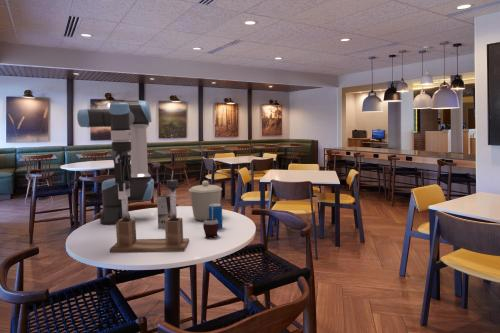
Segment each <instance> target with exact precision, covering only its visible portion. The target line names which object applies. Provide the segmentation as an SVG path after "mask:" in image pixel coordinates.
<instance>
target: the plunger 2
mask: <svg viewBox="0 0 500 333" xmlns="http://www.w3.org/2000/svg"><path fill="white" fill-rule="evenodd" d="M166 188H167V189H169V194H170V210H171V221H177V218H178V216H177V215H178V214H177V193H176V192H177V191H176V189H178V188H179V180H178V179H167V180H166Z"/></svg>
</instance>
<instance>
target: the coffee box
mask: <svg viewBox="0 0 500 333" xmlns="http://www.w3.org/2000/svg"><path fill="white" fill-rule="evenodd" d="M156 198H157V199H156V203H157V205H156V206H157V228H158V229H164V230H165V221H166V220H167V219H168V218H171V210H170V193H163V194H161V195H157V197H156Z"/></svg>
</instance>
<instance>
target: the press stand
mask: <svg viewBox="0 0 500 333" xmlns="http://www.w3.org/2000/svg"><path fill="white" fill-rule="evenodd" d="M183 222H184V221H183V217H177V221H171V218H168V219H167V220H166V221H165V229H164V230H165V231H164V232H165V238H143V239H142V238H138V239H137V226H136V225H137V224H136V218H130V219H129V222H123V219H120V220H119V221H117V222H116V224H115V229H116V233H115V234H116V243H115V244H113V245H112V246H111V247H110V248H109V253H110V254H111V253H112V254H113V253H155V252H156V253H157V252H158V253H159V252H161V253H162V252H163V253H164V252H185V250H186V249H187V246H188V244H190V243H189V242H190V238H188V237H187V238H186V237H185V238H184V226H183V225H184V224H183Z"/></svg>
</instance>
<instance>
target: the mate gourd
mask: <svg viewBox="0 0 500 333" xmlns="http://www.w3.org/2000/svg"><path fill="white" fill-rule="evenodd" d="M213 203H214V202H212V218H209V219H206V220H205V221H203V225H202V226H203V231H204V236H205V237H204V238H205V239H209V238H212V239H216V237H217V236H218V231H219V230H218V229H219V223H218V221H217V219H215V218H213Z"/></svg>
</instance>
